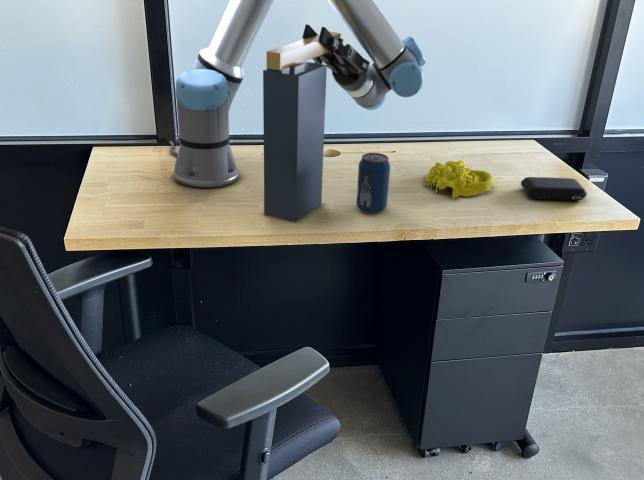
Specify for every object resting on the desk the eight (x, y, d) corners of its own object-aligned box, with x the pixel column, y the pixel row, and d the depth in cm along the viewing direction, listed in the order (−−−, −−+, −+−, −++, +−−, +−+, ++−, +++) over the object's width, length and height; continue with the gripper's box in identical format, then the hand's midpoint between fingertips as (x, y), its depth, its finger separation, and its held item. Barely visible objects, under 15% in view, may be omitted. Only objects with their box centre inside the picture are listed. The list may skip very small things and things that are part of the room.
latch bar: (327, 46, 161) (328, 31, 159) (340, 48, 160) (340, 33, 158) (266, 68, 142) (266, 51, 140) (280, 70, 141) (280, 53, 139)
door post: (290, 197, 172) (292, 51, 154) (321, 204, 169) (327, 57, 151) (264, 214, 163) (262, 61, 145) (295, 222, 160) (298, 68, 142)
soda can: (385, 204, 171) (389, 152, 164) (387, 215, 166) (392, 162, 159) (355, 203, 171) (358, 151, 164) (356, 214, 165) (360, 161, 158)
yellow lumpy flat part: (502, 192, 182) (505, 175, 179) (447, 200, 175) (450, 183, 173) (463, 170, 193) (465, 154, 191) (411, 177, 187) (413, 160, 185)
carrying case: (528, 202, 176) (589, 204, 177) (531, 190, 175) (592, 192, 176) (517, 186, 185) (575, 188, 186) (520, 174, 183) (578, 176, 184)
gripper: (326, 53, 175) (284, 8, 153) (388, 63, 170) (354, 18, 148) (317, 85, 176) (274, 45, 154) (379, 96, 171) (344, 56, 149)
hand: (313, 32), depth 151 cm, fingers closed on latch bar, 3 cm apart
